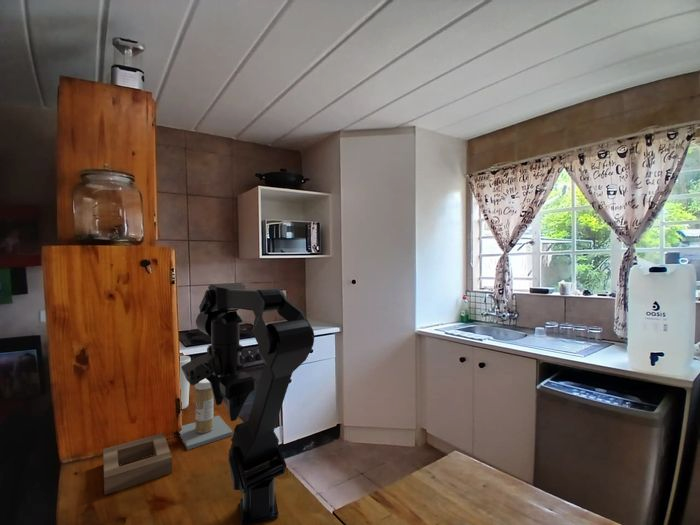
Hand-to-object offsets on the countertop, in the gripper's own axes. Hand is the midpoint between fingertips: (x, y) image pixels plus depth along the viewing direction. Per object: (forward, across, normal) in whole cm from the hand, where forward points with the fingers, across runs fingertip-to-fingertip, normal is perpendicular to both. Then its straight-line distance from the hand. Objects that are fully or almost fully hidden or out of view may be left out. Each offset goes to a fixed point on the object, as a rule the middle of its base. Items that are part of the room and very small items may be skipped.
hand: (225, 412), depth 76 cm
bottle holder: (+13, -12, -15) cm, 24 cm away
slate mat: (+13, -19, +1) cm, 23 cm away
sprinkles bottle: (+12, -18, +1) cm, 22 cm away
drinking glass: (+13, -39, -1) cm, 41 cm away
